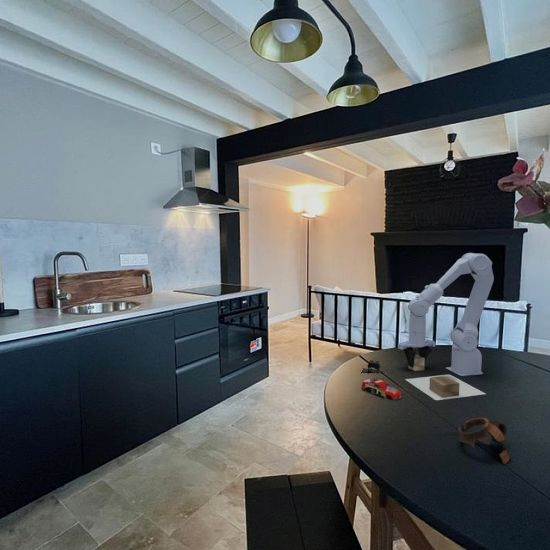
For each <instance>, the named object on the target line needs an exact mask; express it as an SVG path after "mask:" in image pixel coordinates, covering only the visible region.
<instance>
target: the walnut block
mask: <svg viewBox="0 0 550 550" xmlns="http://www.w3.org/2000/svg"><path fill="white" fill-rule="evenodd" d="M438 376H439V377H431V376H429V377H430V386H429V389H430V390H431V391H433V392H434V393H436V394H437V395H439V396H440V397H442V398H444V397H452V396H459V385H460V383H458V382H456V381H455V380H453V379H451V378H449V377H447V376H440V375H438Z"/></svg>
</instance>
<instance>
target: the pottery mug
mask: <svg viewBox="0 0 550 550" xmlns="http://www.w3.org/2000/svg"><path fill="white" fill-rule="evenodd" d="M464 424H465V427H464V425H463V424H461V425H460V426H459V427H458V428H457V431H458V433H459V441H460V442H461V443H462V444H463V443H464V444H466V445H469V446H471V447H472V448H474V449H475V448H476V446H475V445H476V442H477V441H476V440H478V442H480V443H482V444H485V445H491V441H490V436H491V440H492V442H493V443H496V444H498V445H502V449H503V450H502V451H501V452H500V453H499V458H500V459H501V462H502V464H504V465H506V464H508V462H509V461H510V459H511V458H512V456H511V455H512V454H511V453H510V450H509V447H508V443H507V441H506V440H507V439H506V436H507V434H508V433H507V432H508V430H507V429H508V428H507V425H506V424H505V423H504V421H502V420H501V419H492V420H491V421H489V419H488V418H486V417H475V418H471V419H468V420H466V421H464ZM482 425H483V426H482ZM477 426H482V427H479V429H476V430H473V431H469V429H471V428H473V427H477ZM468 431H469V432H468ZM489 434H490V436H489Z"/></svg>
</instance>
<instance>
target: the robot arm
mask: <svg viewBox="0 0 550 550" xmlns="http://www.w3.org/2000/svg"><path fill="white" fill-rule="evenodd" d="M492 265H493V261H492V260H491V259H490V258H489V257H488V256H487V255H486V254H484V253H474V252H467V253H465V254H463V255H462V256H461V258H459V259H457V260H456V262H455V263H454V264H453V265H452V266H451V267H450V268H449V269H448V270H447V271H446V272H445V274H444V275H442V276H441V277H440V278H439V280H438V281H437V282H436V283H430V284H429V285H428V284H427V285H425V286H424V289H423V290H422V291H421V292H420V293H419V295H416V296H415V298H413V299H411V300H410V301H409V303H408V304H407V308H408V311H409V319H408V320H409V323H408V324H409V325H408V327H409V328H408V340H407V341H403V342H398V343H397V348H398V349H399V350H402V351H403V353H404V354H405V358H406V361H407V366H408V365H409V366H410V367H411V368H413V366H414V357H415V355H416V353H417V352H418V355H419V356H421V357H423V358H425V362H424V366H425V363H426V361H427V358H428V357H429V355H430V353H431V352H432V348H434V347H436V341H434V340H433V339H432V340H426V335H427V334H426V328H427V327H426V326H427V318H426V317H427V314H428V313H429V311H430V307H432V306H433V305H434V304H435V303H436V302H437V301H438V300H439V299H440V298H441V297H443V295H444V290H445V289H446V288H447V287H448V286H450V285H451V284H453V282H454V281H455V280H457V279H458V278H459V277H460V276H461V275H466V274H470V275H471V276H472V278H473V280H474V283H473V286H472V289H471V292H470V295H469V298H468V301H467V302H466V306H465V308H464V312H463V314H462V317H461V320H460V321H458V323H456V325H455V327H454V328H453V330H451V332H450V340H451V341H452V342H453V343H452V345H451V364H450V365H451V366H447V367H445V369H446V370H449V371H450V372H453V373H454V374H456V375H459V376H460V377H462V376H463V377H464V376H477V375H483V374H484V373H483V372H482V363H483V361H482V359H483V358H482V357H483V355H482V353H481V351H480V350H479V349H478V348H477V347H478V344H479V342H478V337H479V330H478V325H479V321H480V318H481V316H482V313H483V311H484V309H485V307H486V306H485V305H486V303H487V300H488V297H489V294H490V291H491V289H492V286H493V284H494V280H495V278H494V273H493V268H492V267H493V266H492ZM431 347H432V348H431ZM415 348H417V350H418V351H416V350H414V349H415Z"/></svg>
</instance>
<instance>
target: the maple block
mask: <svg viewBox="0 0 550 550" xmlns="http://www.w3.org/2000/svg"><path fill="white" fill-rule="evenodd" d="M424 362H425V358H423V357H421V356H419V354H415V357H414V366H413V368H411V367H410V366H409V365H408V364H407V367H408V369H409V370H412V371H413V372H417V371H419V372H420V371H425V365H424ZM425 363H426V362H425Z"/></svg>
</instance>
